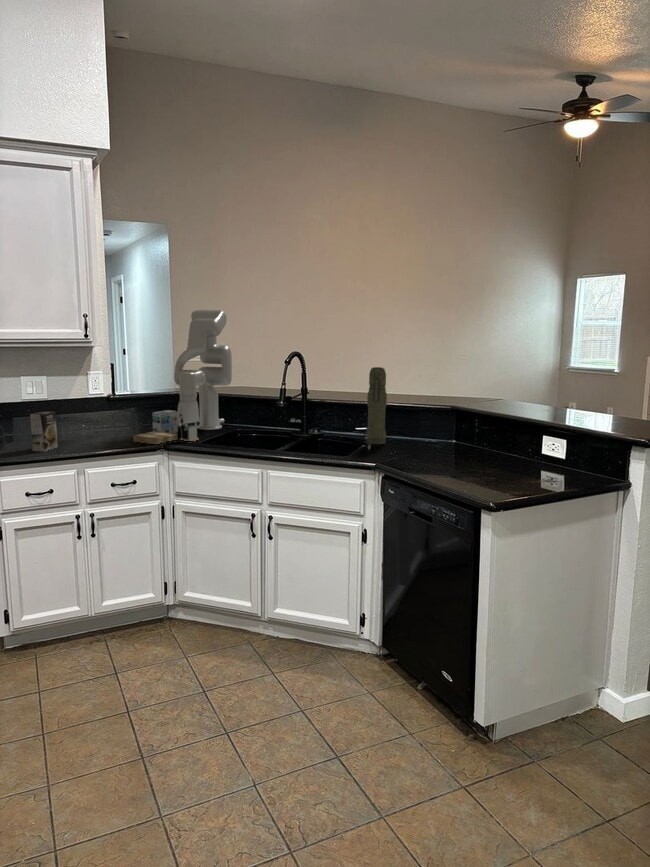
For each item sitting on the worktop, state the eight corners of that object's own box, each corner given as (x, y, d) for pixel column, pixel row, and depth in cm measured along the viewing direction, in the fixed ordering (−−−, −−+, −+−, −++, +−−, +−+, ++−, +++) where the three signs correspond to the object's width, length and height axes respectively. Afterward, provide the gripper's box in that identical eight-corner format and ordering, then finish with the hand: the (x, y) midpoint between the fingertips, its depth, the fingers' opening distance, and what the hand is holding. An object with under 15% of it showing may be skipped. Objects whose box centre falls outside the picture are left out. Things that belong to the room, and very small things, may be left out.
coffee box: (45, 452, 273) (42, 414, 270) (32, 451, 274) (29, 413, 271) (58, 447, 281) (56, 411, 278) (45, 446, 283) (42, 410, 280)
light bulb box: (161, 435, 311) (160, 413, 309) (152, 434, 315) (151, 412, 313) (178, 432, 319) (177, 411, 317) (169, 431, 323) (169, 409, 321)
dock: (156, 437, 306) (156, 430, 306) (177, 440, 299) (177, 434, 299) (133, 442, 295) (133, 435, 294) (155, 445, 287) (155, 438, 287)
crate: (189, 438, 303) (188, 423, 302) (198, 440, 300) (198, 425, 299) (180, 441, 298) (179, 425, 297) (189, 442, 295) (189, 427, 294)
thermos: (366, 445, 291) (368, 368, 285) (365, 440, 303) (367, 366, 296) (386, 446, 291) (388, 369, 285) (384, 441, 303) (386, 366, 296)
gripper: (195, 396, 305) (196, 433, 308) (168, 400, 290) (170, 439, 294) (206, 397, 301) (207, 435, 304) (181, 401, 287) (182, 441, 290)
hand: (189, 437), depth 299 cm, fingers closed on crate, 5 cm apart
